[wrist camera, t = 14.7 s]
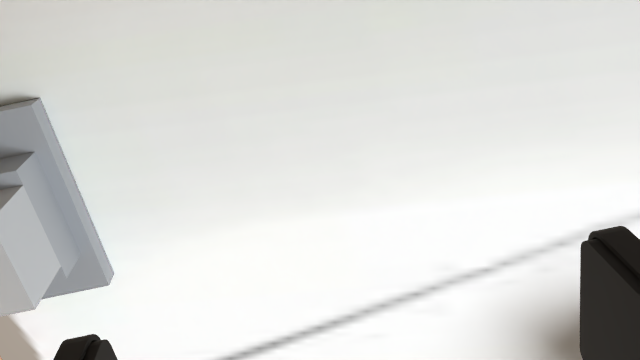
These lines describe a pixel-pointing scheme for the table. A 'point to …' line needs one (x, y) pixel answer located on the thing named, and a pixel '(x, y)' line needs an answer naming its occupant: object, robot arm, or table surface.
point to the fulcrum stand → (42, 216)
